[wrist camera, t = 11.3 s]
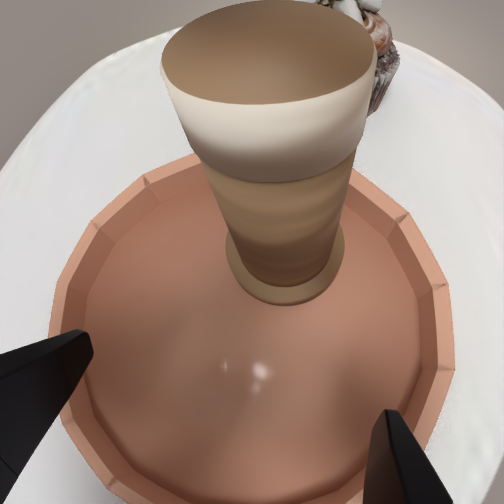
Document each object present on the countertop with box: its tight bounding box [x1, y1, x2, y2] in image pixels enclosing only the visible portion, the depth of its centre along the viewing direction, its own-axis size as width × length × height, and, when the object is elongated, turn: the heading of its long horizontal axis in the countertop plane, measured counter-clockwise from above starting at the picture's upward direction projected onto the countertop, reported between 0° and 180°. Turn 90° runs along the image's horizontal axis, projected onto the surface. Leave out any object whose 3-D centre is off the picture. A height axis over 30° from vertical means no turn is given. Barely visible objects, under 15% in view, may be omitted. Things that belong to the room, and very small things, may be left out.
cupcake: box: [294, 0, 400, 117], centre depth 19 cm, size 10×10×10 cm
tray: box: [48, 153, 455, 504], centre depth 16 cm, size 22×22×3 cm
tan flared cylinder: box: [160, 0, 377, 306], centre depth 12 cm, size 6×6×13 cm
